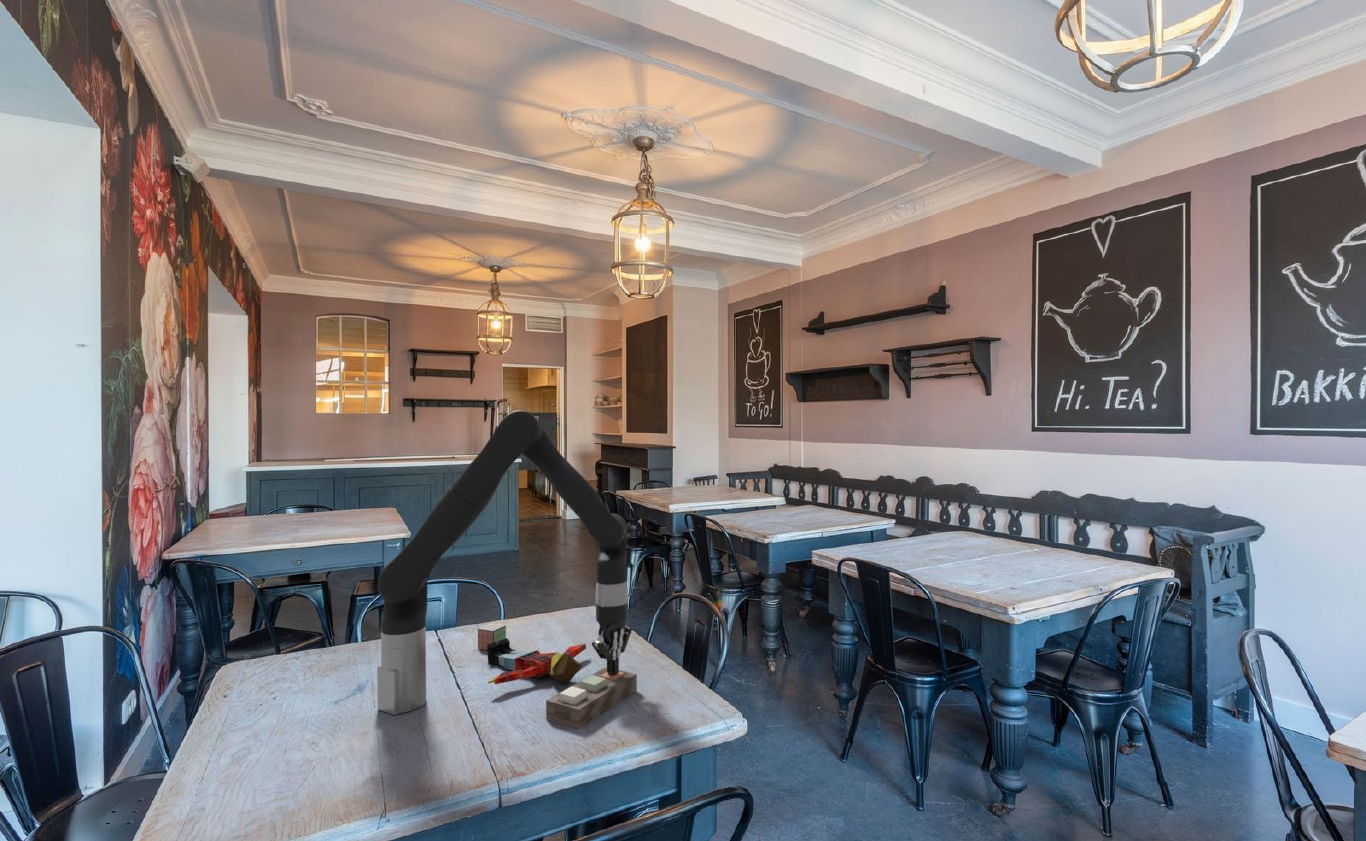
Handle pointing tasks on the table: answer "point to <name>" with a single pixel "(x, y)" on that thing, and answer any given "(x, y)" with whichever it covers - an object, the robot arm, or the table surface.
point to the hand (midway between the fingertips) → (612, 674)
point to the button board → (591, 701)
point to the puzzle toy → (490, 635)
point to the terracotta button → (611, 677)
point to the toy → (533, 662)
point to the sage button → (593, 683)
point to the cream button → (573, 695)
